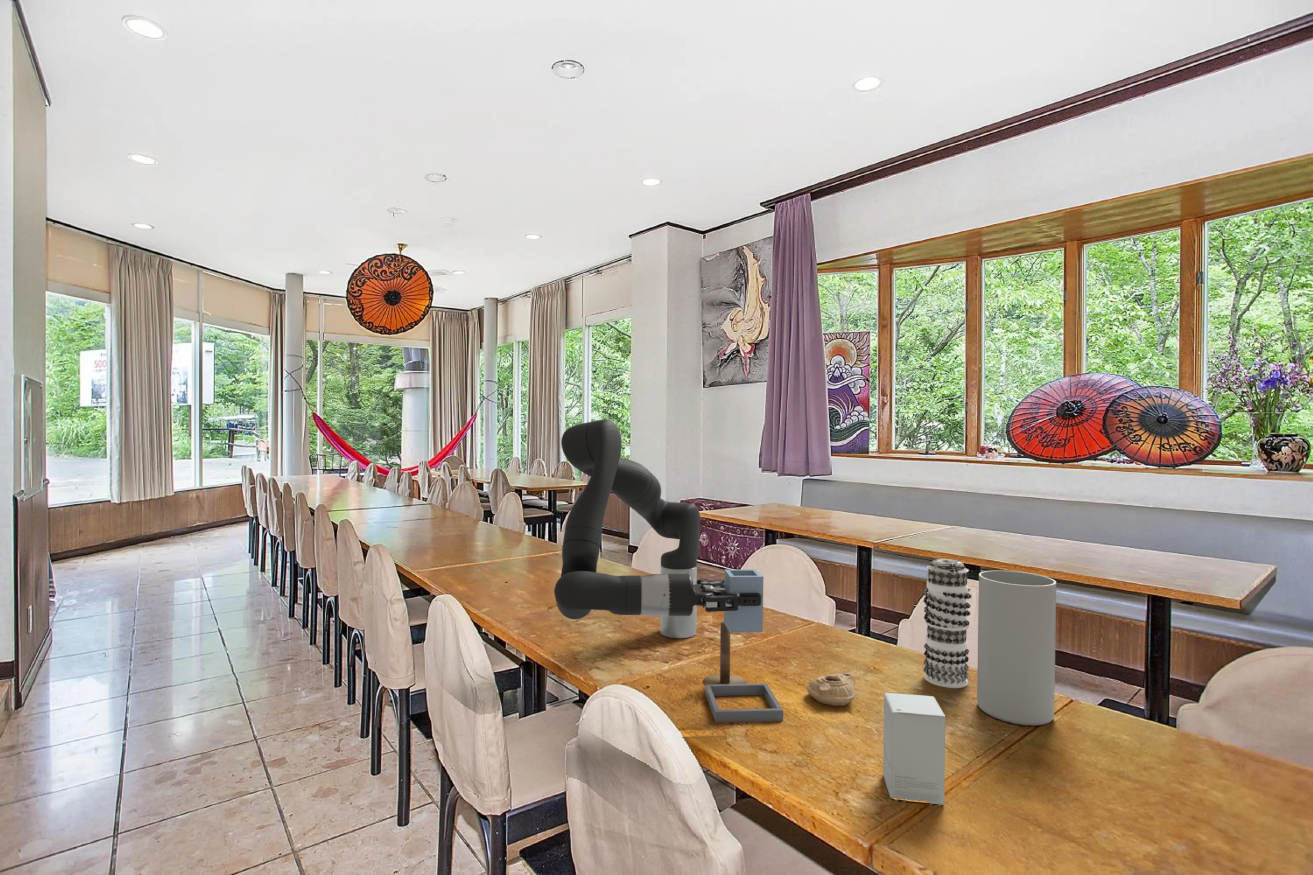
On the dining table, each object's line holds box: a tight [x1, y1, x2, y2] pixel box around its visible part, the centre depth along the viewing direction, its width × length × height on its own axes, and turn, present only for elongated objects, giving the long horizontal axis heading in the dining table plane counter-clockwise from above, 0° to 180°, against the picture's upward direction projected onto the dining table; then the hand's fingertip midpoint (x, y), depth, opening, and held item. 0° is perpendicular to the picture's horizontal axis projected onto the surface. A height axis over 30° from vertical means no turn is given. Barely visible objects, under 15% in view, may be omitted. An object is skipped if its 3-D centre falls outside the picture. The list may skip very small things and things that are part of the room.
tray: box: [704, 683, 784, 723], centre depth 119 cm, size 12×12×3 cm
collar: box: [723, 569, 764, 633], centre depth 119 cm, size 6×6×10 cm
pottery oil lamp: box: [806, 672, 857, 707], centre depth 124 cm, size 9×12×7 cm
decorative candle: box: [923, 558, 972, 689], centre depth 135 cm, size 9×9×25 cm
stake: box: [702, 621, 748, 687], centre depth 131 cm, size 9×9×13 cm
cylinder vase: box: [976, 570, 1057, 727], centre depth 120 cm, size 12×12×25 cm
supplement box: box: [882, 692, 946, 805], centre depth 94 cm, size 7×7×13 cm
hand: (756, 594), depth 119 cm, fingers closed on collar, 6 cm apart
